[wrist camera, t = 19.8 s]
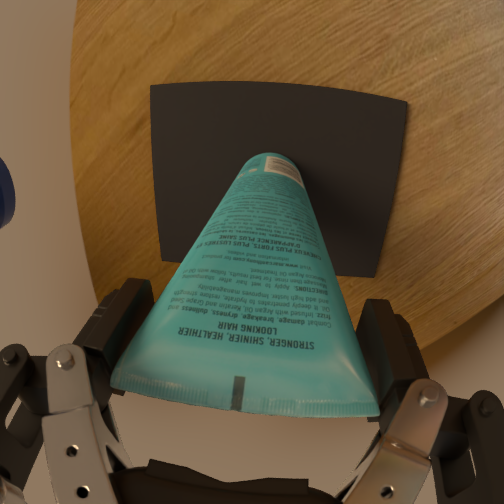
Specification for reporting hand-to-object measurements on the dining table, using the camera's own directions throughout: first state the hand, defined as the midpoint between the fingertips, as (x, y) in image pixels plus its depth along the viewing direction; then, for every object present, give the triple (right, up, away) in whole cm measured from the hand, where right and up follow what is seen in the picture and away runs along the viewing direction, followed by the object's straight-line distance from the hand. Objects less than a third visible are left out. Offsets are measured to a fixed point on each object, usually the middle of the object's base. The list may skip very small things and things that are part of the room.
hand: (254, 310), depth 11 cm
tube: (+1, +7, +13) cm, 15 cm away
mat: (+2, +8, +13) cm, 15 cm away
